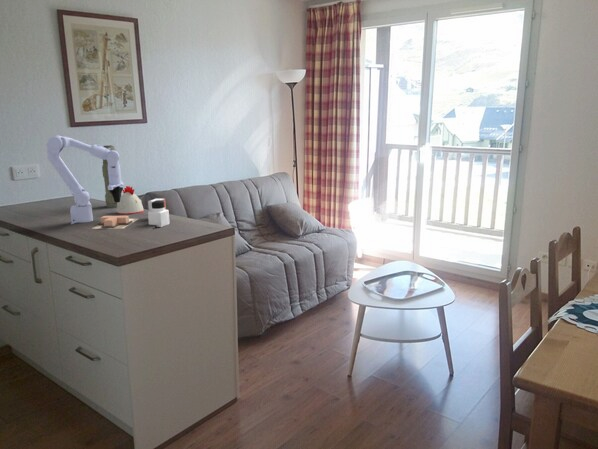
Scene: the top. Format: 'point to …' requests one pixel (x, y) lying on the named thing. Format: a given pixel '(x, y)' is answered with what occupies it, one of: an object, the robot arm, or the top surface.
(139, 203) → the kitchen timer
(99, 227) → the board
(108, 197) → the olive green tall block
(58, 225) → the top surface
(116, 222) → the t block
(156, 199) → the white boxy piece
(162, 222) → the medicine bottle
